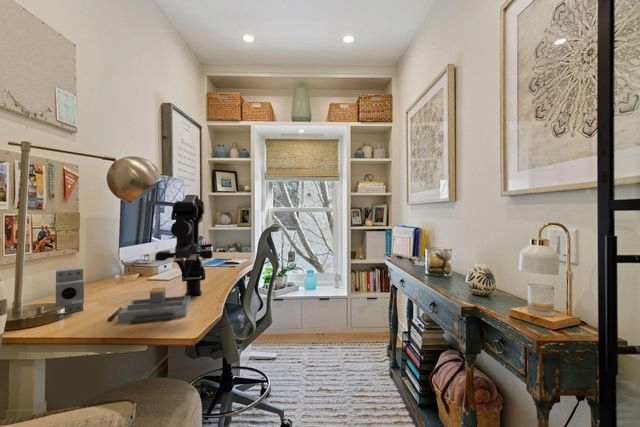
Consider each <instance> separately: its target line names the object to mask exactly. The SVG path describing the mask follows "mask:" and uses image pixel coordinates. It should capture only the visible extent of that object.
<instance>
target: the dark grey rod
mask: <svg viewBox="0 0 640 427" xmlns="http://www.w3.org/2000/svg"><path fill="white" fill-rule="evenodd" d="M123 308H124V307H122V306H120V307H119V308H118V309H117V310H116V311H114V313H112V314H111V315H110V316H109V317H108V318H107V321H108V322H112V321H113V320H114V319H115V318H116V317H117V316H118V313H119V312H120V311H121V310H122V309H123Z"/></svg>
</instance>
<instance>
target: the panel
mask: <svg viewBox="0 0 640 427" xmlns="http://www.w3.org/2000/svg"><path fill="white" fill-rule="evenodd" d="M190 306H191V296H185V295H181V296H170V297H169V296H168V297H166V296H165V301H164V302H159V303H150V298H142V299H140V298H139V299H132V300H130V301H129V302H128V303H126V305H125V306H124V307H122V308H123V309H122V310H121V311H120V312H119V313H118V315H117V316H118V317H117V318H118V319H117V320H118V323H126V322H130V320H133V319H144V318H155V317H165V316H172V318H178V317H187V315H188V312H189V309H190Z"/></svg>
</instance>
